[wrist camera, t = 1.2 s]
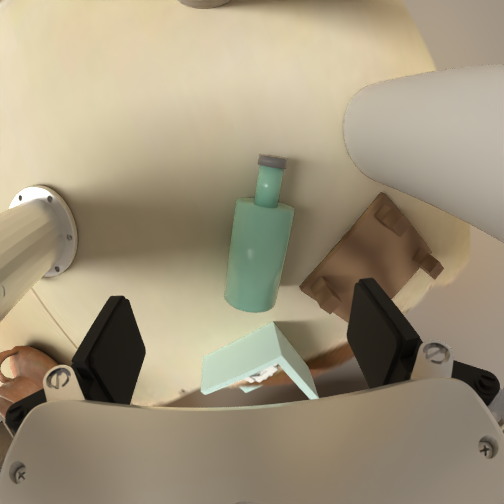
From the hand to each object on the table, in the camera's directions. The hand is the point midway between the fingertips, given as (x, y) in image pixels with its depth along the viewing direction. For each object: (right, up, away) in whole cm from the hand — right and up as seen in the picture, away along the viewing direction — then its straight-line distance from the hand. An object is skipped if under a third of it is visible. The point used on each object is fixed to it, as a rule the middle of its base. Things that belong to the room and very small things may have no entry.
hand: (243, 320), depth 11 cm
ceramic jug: (-40, -19, +28) cm, 52 cm away
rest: (+16, +1, +25) cm, 30 cm away
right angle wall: (+1, -14, +31) cm, 34 cm away
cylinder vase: (+16, +17, +18) cm, 30 cm away
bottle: (+1, +6, +21) cm, 22 cm away
